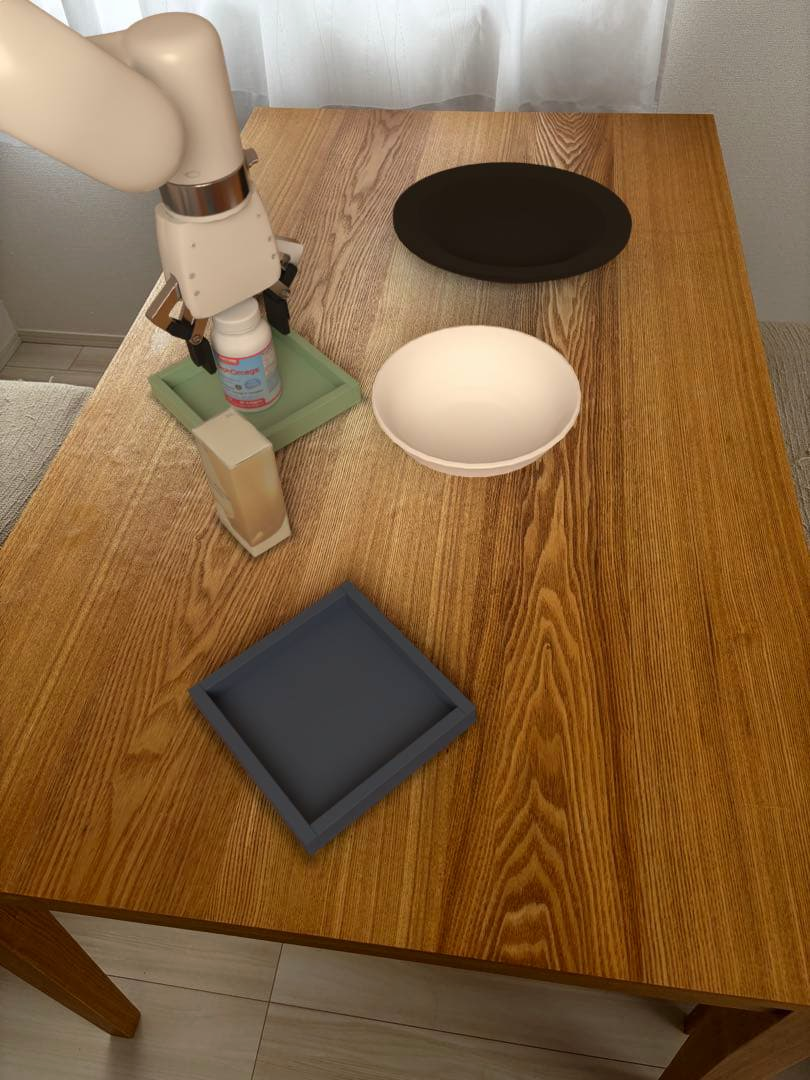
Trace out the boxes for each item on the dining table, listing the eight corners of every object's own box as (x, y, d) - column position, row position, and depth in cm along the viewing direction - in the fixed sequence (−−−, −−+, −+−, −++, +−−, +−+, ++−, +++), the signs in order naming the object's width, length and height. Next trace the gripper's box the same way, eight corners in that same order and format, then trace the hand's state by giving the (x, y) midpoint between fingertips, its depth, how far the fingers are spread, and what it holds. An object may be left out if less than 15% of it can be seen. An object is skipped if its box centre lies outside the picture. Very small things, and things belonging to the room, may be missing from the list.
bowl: (410, 358, 95) (407, 310, 90) (590, 390, 90) (598, 341, 85) (348, 489, 83) (341, 442, 78) (551, 532, 79) (558, 486, 74)
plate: (367, 297, 102) (363, 256, 98) (428, 191, 116) (426, 150, 111) (605, 336, 96) (612, 294, 91) (639, 219, 109) (647, 177, 105)
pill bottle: (216, 409, 91) (191, 321, 82) (240, 371, 94) (218, 284, 85) (270, 419, 89) (249, 331, 80) (292, 381, 93) (274, 292, 84)
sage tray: (234, 476, 85) (228, 459, 83) (153, 395, 93) (147, 377, 91) (361, 400, 91) (359, 382, 89) (275, 330, 99) (272, 312, 97)
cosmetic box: (218, 520, 82) (186, 427, 72) (256, 497, 83) (230, 402, 74) (256, 561, 79) (228, 469, 69) (295, 536, 80) (273, 442, 71)
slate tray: (310, 856, 62) (306, 844, 60) (194, 704, 70) (187, 689, 68) (475, 722, 68) (476, 707, 66) (351, 595, 76) (348, 579, 74)
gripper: (264, 131, 78) (292, 294, 92) (90, 204, 72) (149, 368, 85) (313, 161, 74) (335, 327, 88) (134, 242, 68) (188, 407, 82)
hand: (243, 346), depth 87 cm, fingers open, 8 cm apart
